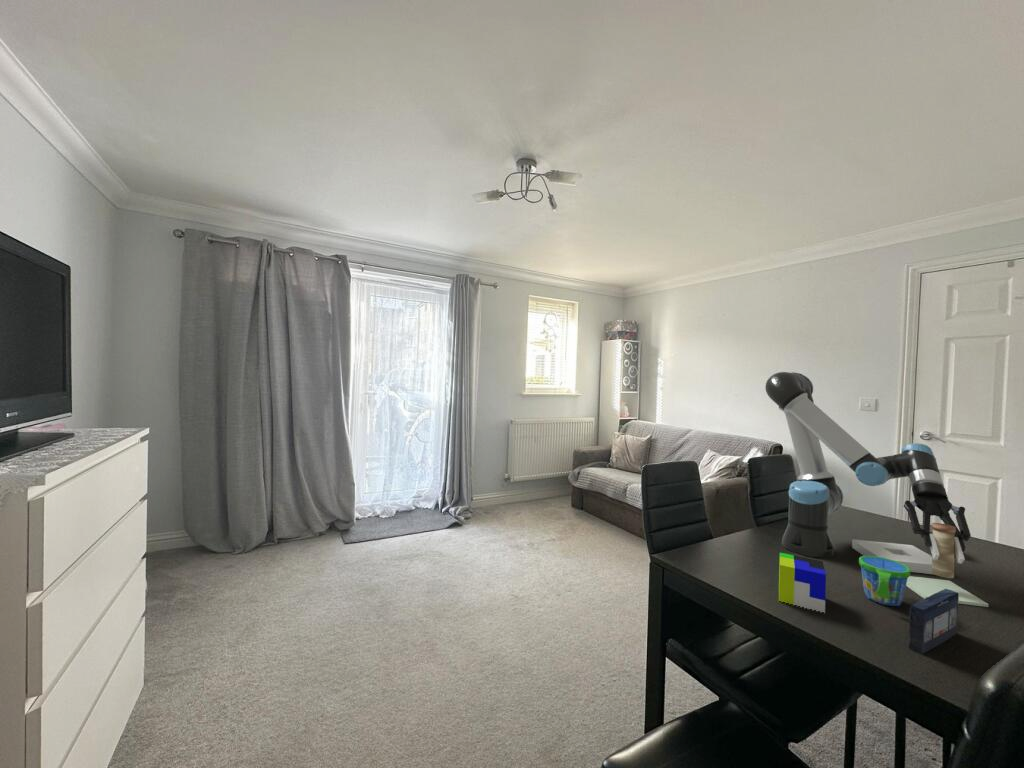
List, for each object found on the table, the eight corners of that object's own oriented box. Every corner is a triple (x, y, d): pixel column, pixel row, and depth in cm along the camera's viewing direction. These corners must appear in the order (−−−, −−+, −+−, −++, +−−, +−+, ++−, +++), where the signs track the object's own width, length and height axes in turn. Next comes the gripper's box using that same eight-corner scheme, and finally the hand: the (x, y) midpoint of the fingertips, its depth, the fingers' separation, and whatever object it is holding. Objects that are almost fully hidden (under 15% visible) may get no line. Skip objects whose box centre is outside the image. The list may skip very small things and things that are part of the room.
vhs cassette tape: (922, 655, 93) (923, 609, 93) (905, 647, 95) (906, 603, 95) (960, 635, 101) (961, 593, 100) (943, 628, 103) (944, 587, 103)
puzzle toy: (824, 613, 109) (826, 574, 109) (778, 602, 114) (779, 564, 114) (821, 597, 117) (822, 561, 117) (778, 587, 123) (779, 552, 123)
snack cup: (906, 618, 107) (907, 578, 107) (853, 602, 115) (854, 564, 115) (911, 598, 118) (912, 561, 118) (862, 584, 125) (863, 550, 125)
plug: (938, 577, 120) (939, 527, 120) (927, 569, 125) (927, 522, 125) (959, 579, 119) (960, 529, 119) (947, 572, 123) (948, 523, 123)
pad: (925, 599, 117) (925, 596, 117) (893, 576, 131) (893, 574, 131) (988, 607, 114) (988, 604, 114) (949, 583, 127) (949, 580, 127)
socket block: (881, 568, 137) (882, 559, 137) (852, 547, 154) (852, 539, 154) (950, 576, 132) (950, 566, 132) (911, 553, 150) (911, 545, 150)
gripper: (962, 498, 131) (988, 572, 116) (888, 490, 139) (904, 558, 125) (970, 484, 126) (998, 559, 112) (893, 477, 135) (910, 546, 120)
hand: (948, 559), depth 118 cm, fingers closed on plug, 4 cm apart
